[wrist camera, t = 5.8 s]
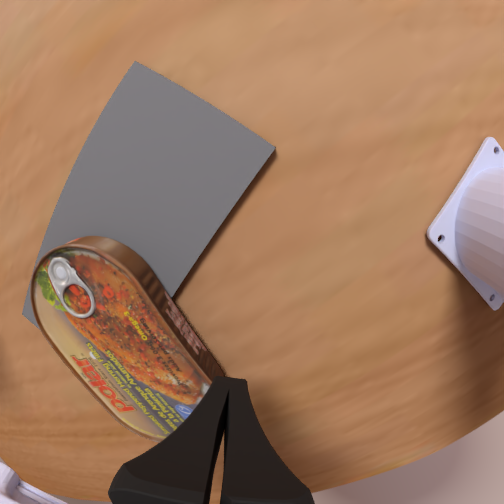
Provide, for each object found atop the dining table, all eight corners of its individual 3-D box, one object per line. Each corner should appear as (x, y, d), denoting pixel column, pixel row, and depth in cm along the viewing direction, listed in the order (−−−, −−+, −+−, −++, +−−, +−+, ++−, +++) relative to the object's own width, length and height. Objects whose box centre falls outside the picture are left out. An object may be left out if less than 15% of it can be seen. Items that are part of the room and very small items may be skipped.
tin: (251, 429, 17) (147, 458, 18) (248, 397, 20) (154, 429, 21) (98, 213, 13) (4, 287, 14) (121, 203, 16) (30, 270, 17)
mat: (275, 147, 15) (275, 147, 15) (118, 381, 20) (116, 385, 20) (138, 63, 14) (135, 60, 14) (25, 311, 19) (22, 314, 18)
